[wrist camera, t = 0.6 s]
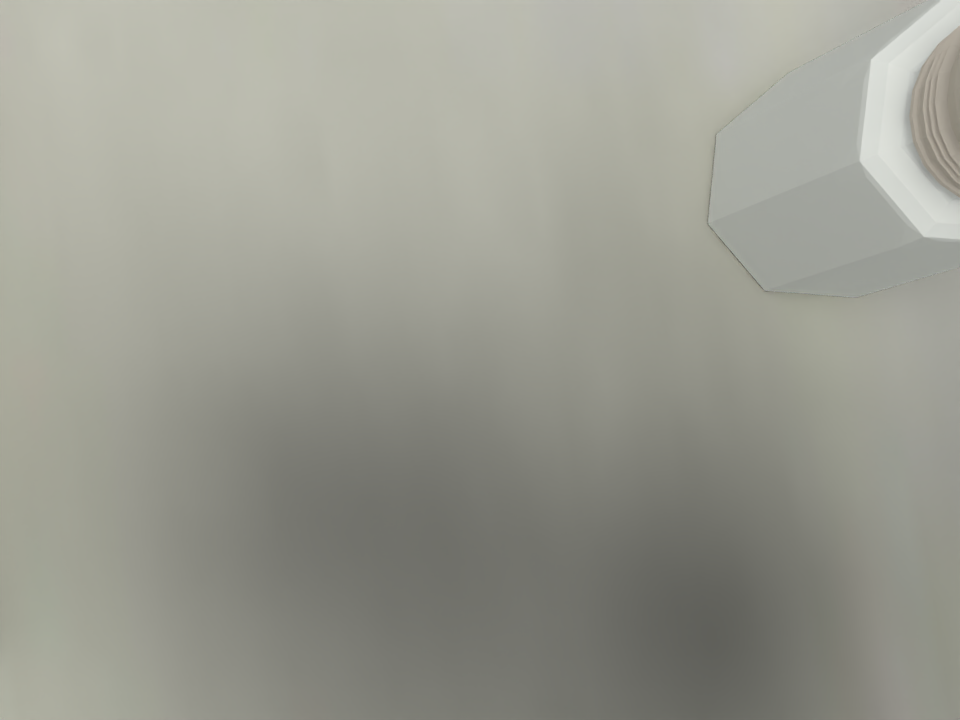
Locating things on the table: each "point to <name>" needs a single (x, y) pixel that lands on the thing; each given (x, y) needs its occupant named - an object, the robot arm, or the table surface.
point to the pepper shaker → (850, 164)
